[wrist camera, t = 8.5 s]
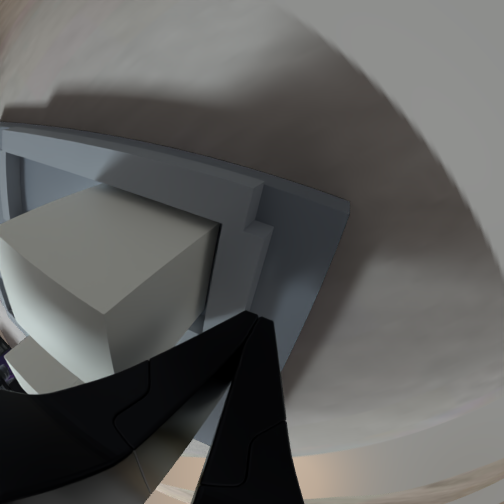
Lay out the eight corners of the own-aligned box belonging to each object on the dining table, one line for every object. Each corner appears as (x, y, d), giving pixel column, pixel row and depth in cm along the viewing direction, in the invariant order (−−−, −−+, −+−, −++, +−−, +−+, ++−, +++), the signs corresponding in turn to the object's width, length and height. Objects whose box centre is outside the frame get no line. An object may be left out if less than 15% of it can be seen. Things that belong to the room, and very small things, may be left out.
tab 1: (111, 384, 16) (68, 432, 12) (63, 348, 17) (21, 387, 13) (104, 353, 15) (51, 406, 10) (53, 315, 16) (3, 356, 11)
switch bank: (241, 439, 17) (228, 467, 15) (21, 300, 21) (4, 312, 19) (350, 198, 9) (350, 221, 7) (-1, 120, 13) (-27, 126, 11)
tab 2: (204, 309, 10) (123, 409, 6) (104, 260, 11) (16, 321, 7) (220, 222, 9) (104, 314, 4) (104, 182, 10) (-9, 229, 5)
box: (41, 401, 41) (9, 434, 30) (24, 383, 42) (-7, 413, 32) (12, 348, 33) (-32, 386, 22) (-5, 329, 34) (-46, 363, 24)
